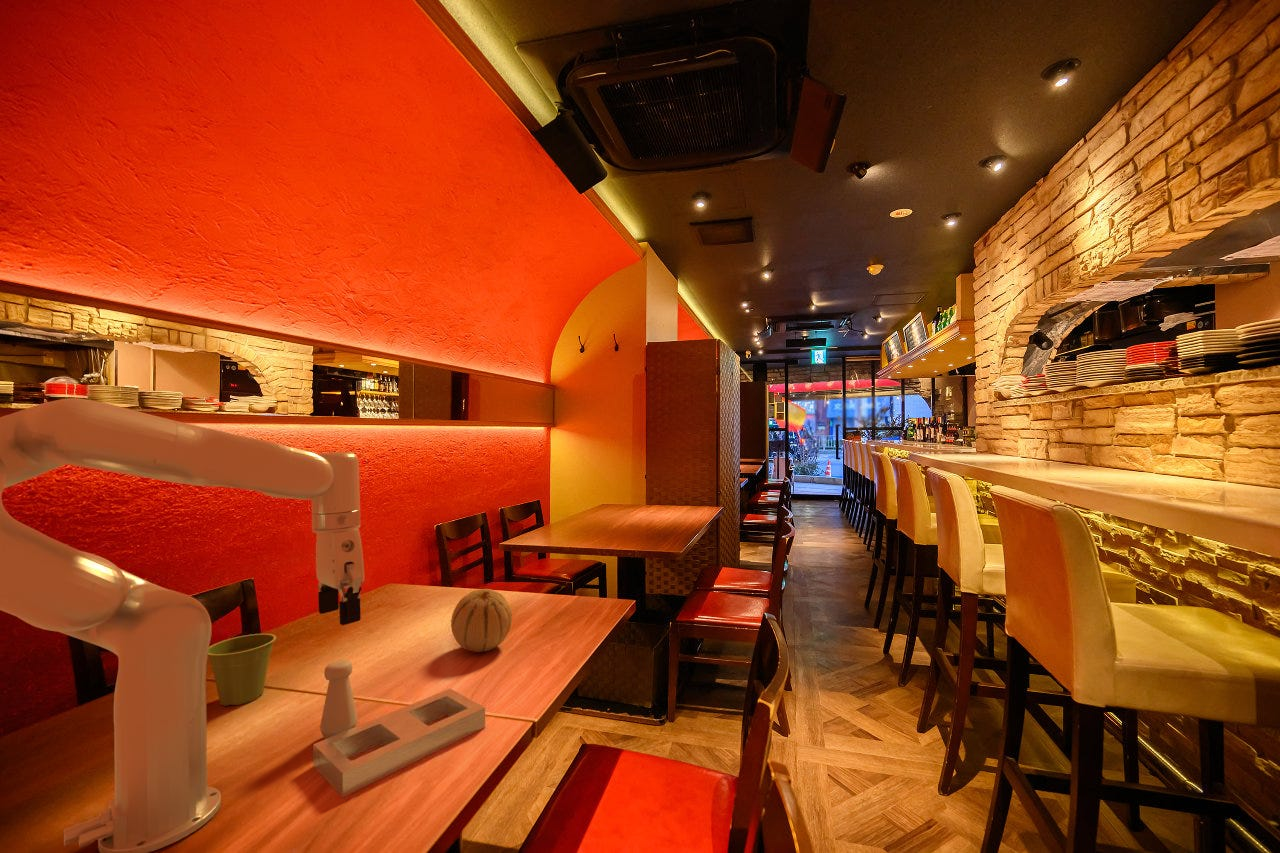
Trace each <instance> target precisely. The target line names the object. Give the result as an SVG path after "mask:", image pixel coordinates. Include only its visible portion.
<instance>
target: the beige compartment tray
mask: <svg viewBox="0 0 1280 853" xmlns="http://www.w3.org/2000/svg"><path fill="white" fill-rule="evenodd" d="M445 714H448V715H447V716H448V717H446V718H443V719H441V720H439V721H437V722H435V723H433V724H430V725H427V724H429V723H431V722H433V721H435V720H437V718H438V719H439V717H440V718H442V717H444V716H446V715H445ZM443 715H444V716H443ZM449 715H450V716H449ZM441 716H442V717H441ZM484 728H486V707H485V706H483V705H481V704H480V703H478V702H475V701H474V700H472V699H470V698H468V697H467V696H464V695H463V694H462V693H459V692H457V691H456V690H454V689H452V688H448V689H446V690H443V691H440V692H438V693H436V694H434V695H430V696H428V697H426V698H423V699H421V700H418V701H415V702H413V703H411V704H408V705H407V706H403V707H401V708H400V709H395V710H394V711H392V712H389V713H386V714H384V715H382V716H379V717H377V718H374V719H372V720H370V721H367V722H365V723H361V724H360V725H356V726H355V727H354V728H352V729H349V730H347V731H345V732H342V733H340V734H337V735H335V736H332V737H330V738H327V739H325V738H324V739H322V740H320V741H318V742H316V743H315V742H314V744H313V747H312V748H313V767H314V768H315V769H316V770H317V772H318V773H319V774H320V775H322V777H323V778H324V779H325V780H326V781H327V782H328V783H329V784H330V785H331V786H332V787H333V789H334V790H335V791H336V792H337V793H338V794H339V795H340V796H341V797H342V798H345V797H348V795H351V794H352V793H354V792H357V791H359V790H361V789H363V788H364V787H367V786H369V785H371V784H373V783H375V782H377V781H379V780H381V779H383V778H385V777H387V776H389V775H391V774H393V773H395V772H397V771H400V770H402V769H404V768H405V767H408V766H410V765H411V764H413V763H416V762H417V761H419V760H422V759H423V758H425V757H427V756H430V755H431V754H434V753H436V752H438V751H440V750H441V749H444V748H446V747H448V746H450V745H452V744H454V743H456V742H459V741H460V740H462V739H464V738H467V737H468V736H471V735H472V734H474V733H476V732H479V731H480V730H482V729H484ZM379 745H381V747H379V748H377V749H375V750H372V751H370V752H369V753H366V754H364V755H361V756H359V757H357V758H355V759H352V760H351V759H350V758H352V757H354V756H356V755H359V754H361V753H363V752H365V751H368V750H370V749H373V748H375V747H377V746H379Z"/></svg>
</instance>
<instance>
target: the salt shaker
mask: <svg viewBox="0 0 1280 853" xmlns="http://www.w3.org/2000/svg"><path fill="white" fill-rule="evenodd" d="M352 672H353V664H352V662H351V661H350V660H348V659H340V660H335V661H332V662H330V663H328V664H327V665H326V667H325V668H324V672H323V675H324V677H325V680H327V681H328V685H327V690H326V694H325V700H324V704H323V709H322V710H323V711H322V714H321V720H320V725H319V729H320V733H321V735H322V736H323V738H324V740H325V739H327V738H330V737H332V736H335V735H337V734H340V733H342V732H345V731H347V730H349V729H352V728H354V727H357V724H358V719H359V718H358V713H357V708H356V704H355V699H354V695H353V690H352V689H353V688H352V685H351V679H350V675H351V674H352Z"/></svg>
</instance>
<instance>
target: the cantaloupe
mask: <svg viewBox="0 0 1280 853" xmlns="http://www.w3.org/2000/svg"><path fill="white" fill-rule="evenodd" d="M512 616H513V614H512V609H511V607H510V604H509V602H508V601H507V598H506V597H504V595H503V594H502V593H500V592H499V591H496V590H493V589H490V588H481V589H476V590H472V591H470V592H469V593H466V595H464V596H463V597H462V598H461V599H460V600H459V601H458V603H457V604H456V606H455V608H454V610H453V612H452V615H451V620H450V628H451V632H452V635H453V637H454V639H455V641H456V643H458V644H459V646H460V647H461V648H462V649H464V650H465V651H466V650H467V651H470V652H474V653H482V652H488V651H491V650H493V649H495V648H497V647H498V646H499V645H501V643H503V642H504V640H505V639H506V638H507V636H508V634H509V632H510V629H511V627H512V620H513V617H512Z"/></svg>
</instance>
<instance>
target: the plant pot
mask: <svg viewBox="0 0 1280 853" xmlns="http://www.w3.org/2000/svg"><path fill="white" fill-rule="evenodd" d="M276 639H277V636H276V635H275V634H272V633H254V634H252V633H251V634H248V635H247V634H246V635H241V636H235V637H232V638H231V637H230V638H227V639H224V640H222V641H218V642H217V643H213V644H212V645H209V651H208V660H209V664H210V665H211V668H212V671H213V677H214V681H215V686H216V691H217V695H218V701H219V704H220V705H221V706H224V707H228V706H229V705H233V706H240V705H243V704H246V703H249V702H252V701H254V700H257V699H258V698H259V697H260V695H263V694H264V690H265V685H266V680H267V672H268V667H269V661H270V657H271V652H272V650H273V644H274V642H275V641H276Z"/></svg>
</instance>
